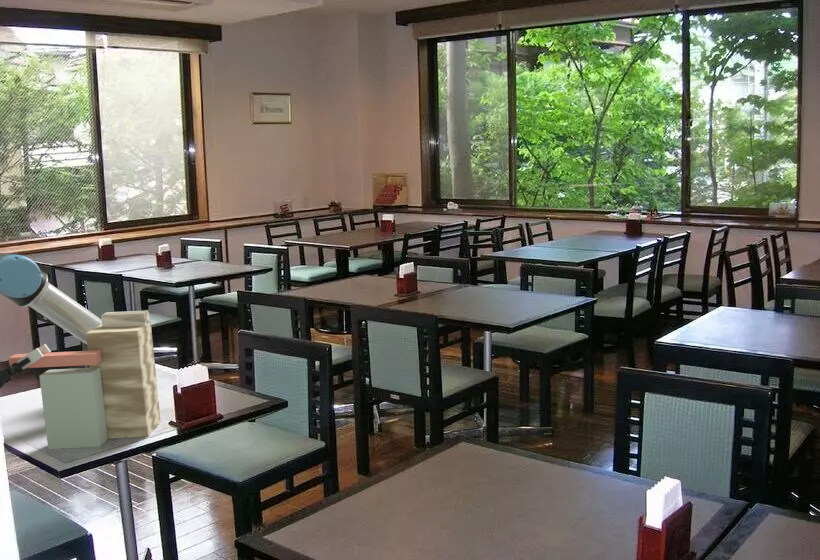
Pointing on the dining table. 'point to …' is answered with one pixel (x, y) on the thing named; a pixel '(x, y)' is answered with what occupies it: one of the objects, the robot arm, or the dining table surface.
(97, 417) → the block
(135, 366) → the tall wood-grain block
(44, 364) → the stub
